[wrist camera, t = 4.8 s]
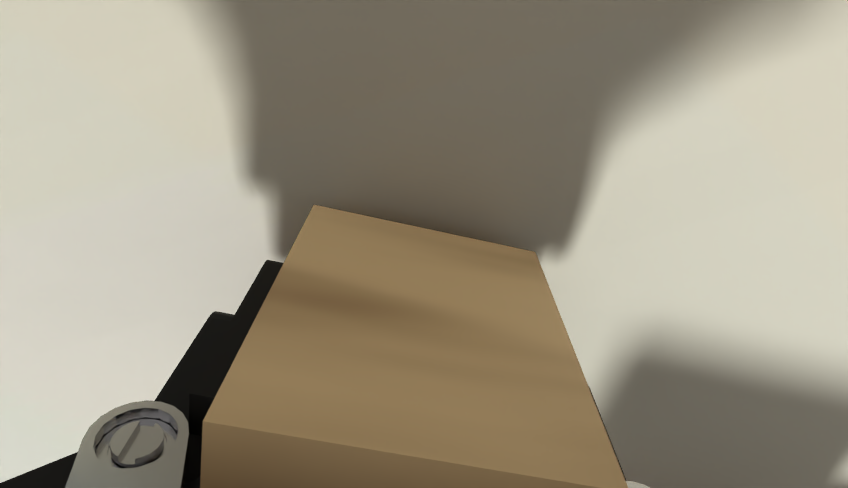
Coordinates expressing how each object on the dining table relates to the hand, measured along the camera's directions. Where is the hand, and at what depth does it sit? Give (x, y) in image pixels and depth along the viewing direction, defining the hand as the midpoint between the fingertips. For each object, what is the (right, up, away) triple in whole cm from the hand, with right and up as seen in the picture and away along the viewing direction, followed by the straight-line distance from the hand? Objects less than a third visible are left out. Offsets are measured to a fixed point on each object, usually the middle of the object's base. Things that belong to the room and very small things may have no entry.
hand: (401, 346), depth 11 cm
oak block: (0, 0, +1) cm, 1 cm away
